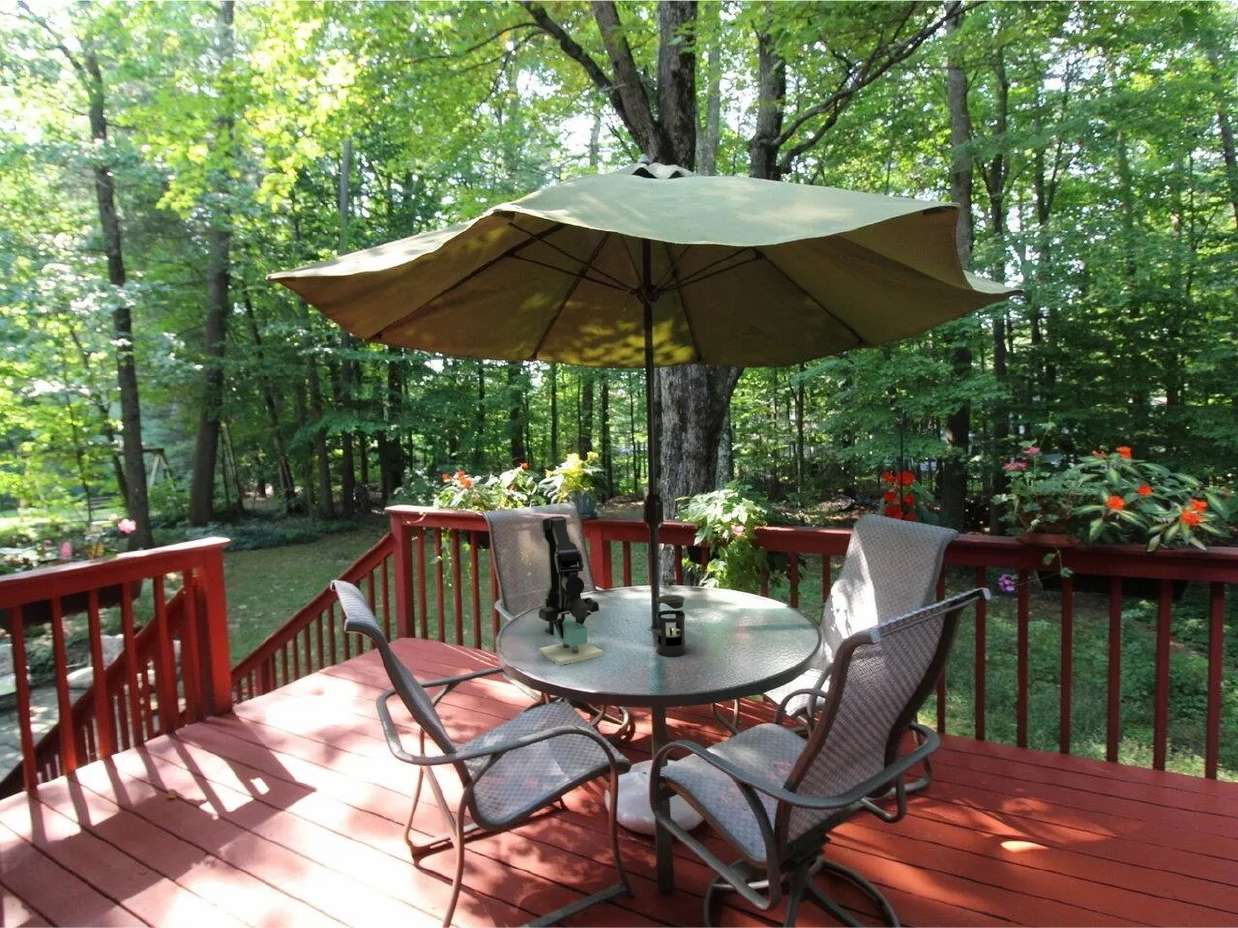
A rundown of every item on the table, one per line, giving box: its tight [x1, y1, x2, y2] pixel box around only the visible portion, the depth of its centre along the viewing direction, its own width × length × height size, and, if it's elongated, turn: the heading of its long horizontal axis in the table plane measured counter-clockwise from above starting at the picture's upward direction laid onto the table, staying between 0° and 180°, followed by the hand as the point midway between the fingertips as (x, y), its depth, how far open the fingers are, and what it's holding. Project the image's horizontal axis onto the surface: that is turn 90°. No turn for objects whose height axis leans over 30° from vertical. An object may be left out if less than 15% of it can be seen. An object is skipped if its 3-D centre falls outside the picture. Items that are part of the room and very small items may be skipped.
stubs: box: [562, 642, 579, 653], centre depth 208 cm, size 8×2×3 cm, turn 32°
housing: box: [553, 617, 588, 647], centre depth 208 cm, size 6×12×5 cm, turn 32°
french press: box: [655, 578, 688, 658], centre depth 208 cm, size 12×9×23 cm
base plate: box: [539, 641, 604, 666], centre depth 208 cm, size 14×15×2 cm
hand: (570, 636), depth 208 cm, fingers closed on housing, 6 cm apart
